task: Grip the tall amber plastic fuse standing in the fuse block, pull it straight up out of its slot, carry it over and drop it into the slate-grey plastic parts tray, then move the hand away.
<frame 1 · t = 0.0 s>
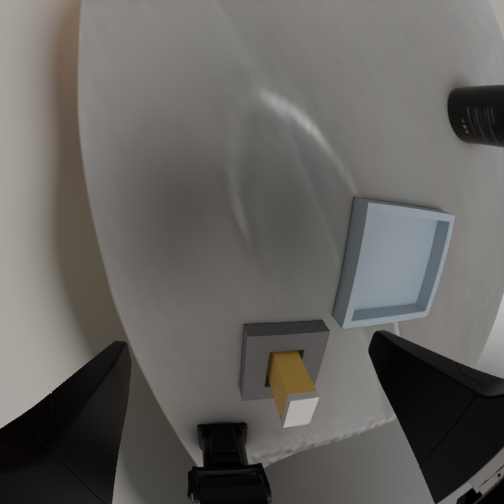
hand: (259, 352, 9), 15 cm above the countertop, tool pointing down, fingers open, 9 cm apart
parts tray: (392, 260, 26), on the countertop
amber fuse: (288, 382, 24), in the fuse block
supplement bottle: (462, 115, 22), on the countertop
fuse block: (279, 357, 28), on the countertop
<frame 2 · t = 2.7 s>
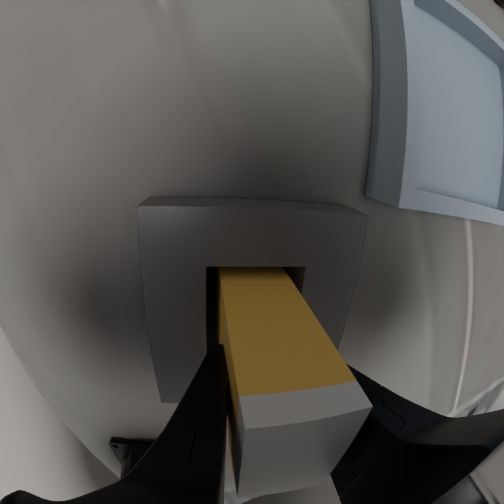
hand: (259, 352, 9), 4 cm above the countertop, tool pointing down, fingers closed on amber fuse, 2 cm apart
parts tray: (455, 107, 11), on the countertop
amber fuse: (262, 360, 9), in the fuse block, touching gripper
fuse block: (245, 301, 12), on the countertop
when the fingers open (5 cm above the countertop, at t = 8.2 s): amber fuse drops 1 cm, resting on parts tray.
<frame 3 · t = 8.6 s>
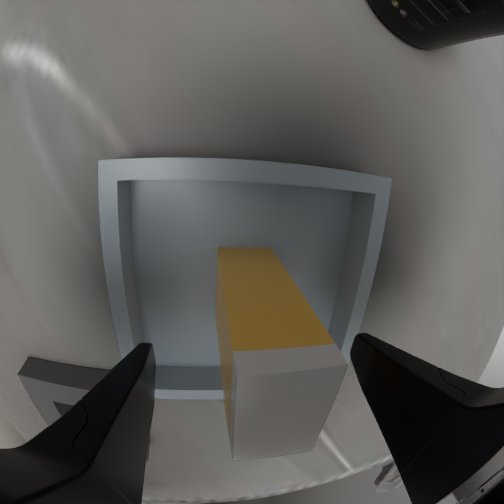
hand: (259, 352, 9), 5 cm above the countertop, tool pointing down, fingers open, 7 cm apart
parts tray: (240, 281, 14), on the countertop
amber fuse: (256, 336, 10), in the parts tray, point 5 cm above the countertop
supplement bottle: (402, 8, 10), on the countertop
fuse block: (90, 407, 16), on the countertop
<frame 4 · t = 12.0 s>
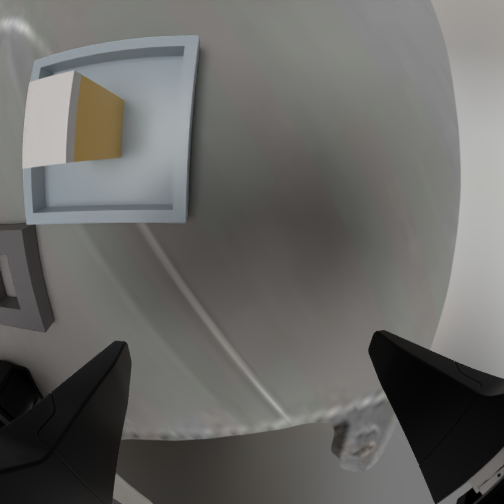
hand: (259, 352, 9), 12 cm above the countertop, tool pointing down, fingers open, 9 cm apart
parts tray: (108, 130, 16), on the countertop
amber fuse: (81, 125, 12), in the parts tray, point 5 cm above the countertop
fuse block: (11, 273, 18), on the countertop
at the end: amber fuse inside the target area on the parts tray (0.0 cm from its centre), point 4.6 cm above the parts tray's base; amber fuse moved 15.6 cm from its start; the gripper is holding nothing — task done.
